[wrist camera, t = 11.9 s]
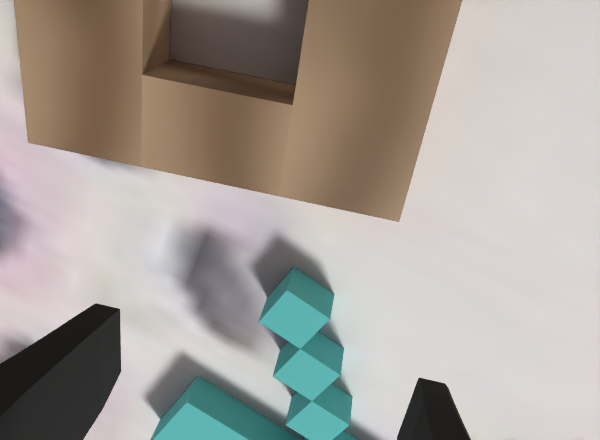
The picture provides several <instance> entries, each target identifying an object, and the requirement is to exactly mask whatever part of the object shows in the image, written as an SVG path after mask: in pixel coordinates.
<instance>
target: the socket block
mask: <svg viewBox="0 0 600 440" xmlns="http://www.w3.org/2000/svg"><path fill="white" fill-rule="evenodd" d="M171 2H172V0H14V7H15V17H16V27H17V37H18V47H19V57H20V67H21V77H22V87H23V97H24V107H25V117H26V127H27V137H28V143H33V144H37V145H42V146H47V147H51V148H56V149H61V150H65V151H70V152H75V153H79V154H84V155H89V156H93V157H98V158H103V159H107V160H112V161H117V162H121V163H126V164H131V165H135V166H140V167H145V168H149V169H154V170H159V171H164V172H168V173H173V174H178V175H182V176H187V177H192V178H196V179H201V180H206V181H210V182H215V183H220V184H224V185H229V186H234V187H238V188H243V189H248V190H252V191H257V192H262V193H266V194H271V195H276V196H280V197H285V198H290V199H295V200H299V201H304V202H309V203H313V204H318V205H323V206H327V207H332V208H337V209H341V210H346V211H351V212H355V213H360V214H365V215H369V216H374V217H379V218H383V219H388V220H393V221H397V222H399V220H400V217H401V213H402V210H403V206H404V203H405V199H406V196H407V192H408V189H409V185H410V182H411V178H412V175H413V171H414V168H415V164H416V161H417V157H418V154H419V150H420V146H421V143H422V139H423V136H424V132H425V129H426V125H427V122H428V118H429V115H430V111H431V108H432V104H433V101H434V97H435V94H436V90H437V87H438V83H439V80H440V76H441V73H442V69H443V66H444V62H445V59H446V55H447V52H448V48H449V45H450V41H451V38H452V34H453V31H454V27H455V24H456V20H457V17H458V13H459V10H460V6H461V2H462V0H309V2H308V9H307V15H306V22H305V29H304V35H303V42H302V48H301V55H300V61H299V68H298V74H297V81H296V85H294V84H289V83H284V82H279V81H274V80H269V79H264V78H259V77H254V76H249V75H244V74H239V73H234V72H229V71H224V70H219V69H214V68H209V67H204V66H199V65H194V64H189V63H184V62H179V61H174V60H169V59H170V31H171Z"/></svg>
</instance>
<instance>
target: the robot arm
mask: <svg viewBox="0 0 600 440" xmlns="http://www.w3.org/2000/svg"><path fill="white" fill-rule="evenodd" d="M120 372H121V345H120V309H118V308H113V307H109V306H105V305H100V304H94V305H93V306H91V307H89V308H88V309H86V310H85V311H83V312H81V313H80V314H78V315H77V316H75V317H74V318H72V319H71V320H69V321H68V322H66V323H65V324H63V325H62V326H60V327H59V328H57V329H55V330H54V331H52V332H51V333H49V334H48V335H46V336H45V337H43V338H42V339H40V340H38V341H37V342H35V343H34V344H32V345H30V346H29V347H27V348H26V349H24V350H22V351H21V352H19V353H18V354H16V355H14V356H13V357H11V358H9V359H8V360H6V361H4V362H2V363H1V364H0V440H83V439H84V437H85V436H86V434H87V433H88V431H89V429H90V428H91V426H92V425H93V423H94V422H95V420H96V419H97V417H98V415H99V414H100V412H101V411H102V409H103V407H104V405H105V403H106V401H107V399H108V397H109V395H110V393H111V391H112V389H113V387H114V385H115V383H116V381H117V379H118V376H119V374H120ZM397 440H471V439H470V437H469V435H468V433H467V430H466V428H465V426H464V424H463V422H462V419H461V417H460V415H459V413H458V410H457V408H456V406H455V403H454V401H453V399H452V396H451V394H450V391H449V389H448V387H447V386H446V384H444V383H440V382H436V381H431V380H427V379H423V378H418V381H417V384H416V387H415V389H414V392H413V395H412V398H411V401H410V403H409V406H408V409H407V412H406V414H405V417H404V420H403V423H402V425H401V428H400V431H399V434H398V437H397Z"/></svg>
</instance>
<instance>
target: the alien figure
mask: <svg viewBox="0 0 600 440" xmlns="http://www.w3.org/2000/svg"><path fill="white" fill-rule="evenodd" d="M333 299H334V293H332V292H331V291H329V290H328V289H326V288H325V287H323V286H322V285H320V284H319V283H317V282H316V281H314V280H313V279H311V278H310V277H309V276H307V275H306V274H304V273H303V272H301V271H300V270H298V269H297V268H295V267H294V268H293V269H292V270H291V271H290V272H289V273H288V274H287V276H286V277H285V278H284V279H283V280H282V281H281V282H280V284H279V285H278V286H277V287H276V288H275V289H274V290H273V292H272V293H271V294H270V295H269V296H268V297H267V300H266V303H265V305H264V308H263V311H262V314H261V317H260V320H259V322H260V323H261V324H263V325H264V326H266V327H267V328H269V329H270V330H272V331H273V332H275V333H276V334H278V335H279V336H281V337H283V338H284V339H286V340H287V341H288V342H287V344H286V345H285V346H284V347H283V348H282V349H281V350H280V352H279V356H278V360H277V363H276V367H275V370H274V374H273V377H274V378H276V379H278V380H279V381H281V382H282V383H284V384H286V385H287V386H289V387H290V388H292V389H293V390H295V391H297V393H296V394H295V395H294V396H293V397H292V398H291V403H290V407H289V411H288V416H287V420H286V426H288V427H289V428H291V429H293V430H294V431H296V432H297V433H299V434H301V435H302V436H304V437H305V438H304V439H303V440H358V439H356V438H355V437H353V436H352V435H350V434H349V433H347V432H345V431H344V430H345V429H346V428H347V427H348V426H349V425H350V417H351V406H352V396H350V395H349V394H347V393H346V392H344V391H342V390H341V389H339V388H338V387H336V386H335V385H333V384H332V382H334V381H335V380H336V379H337V378H338V377H339V376H340V375H341V367H342V359H343V351H344V348H343V347H341V346H340V345H338V344H337V343H335V342H334V341H332V340H331V339H329V338H328V337H326V336H325V335H323V334H322V333H320V332H319V330H320V329H321V328H322V327H323V326H324V325H325V324H326V323H327V322H328V321H329V320H330V316H331V311H332V305H333ZM151 440H301V439H299V438H298V437H296V436H294V435H293V434H291V433H290V432H288V431H286V430H285V429H283V428H281V427H280V426H278V425H277V424H275V423H273V422H272V421H270V420H269V419H267V418H265V417H264V416H262V415H260V414H259V413H257V412H256V411H254V410H252V409H251V408H249V407H248V406H246V405H244V404H243V403H241V402H239V401H238V400H236V399H235V398H233V397H231V396H230V395H228V394H227V393H225V392H223V391H222V390H220V389H219V388H217V387H215V386H214V385H212V384H210V383H209V382H207V381H206V380H204V379H202V378H201V377H199V376H198V377H197V378H196V379H195V381H194V382H193V383H192V384H191V385H190V386H189V387H188V389H187V390H186V391H185V392H184V393H183V394H182V395H181V397H180V398H179V399H178V400H177V401H176V402H175V403H174V405H173V406H172V407H171V408H170V409H169V410H168V411H167V413H166V414H165V415H164V416H163V417H162V418H161V419H160V421H159V424H158V426H157V428H156V430H155V432H154V434H153V436H152V438H151Z"/></svg>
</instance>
